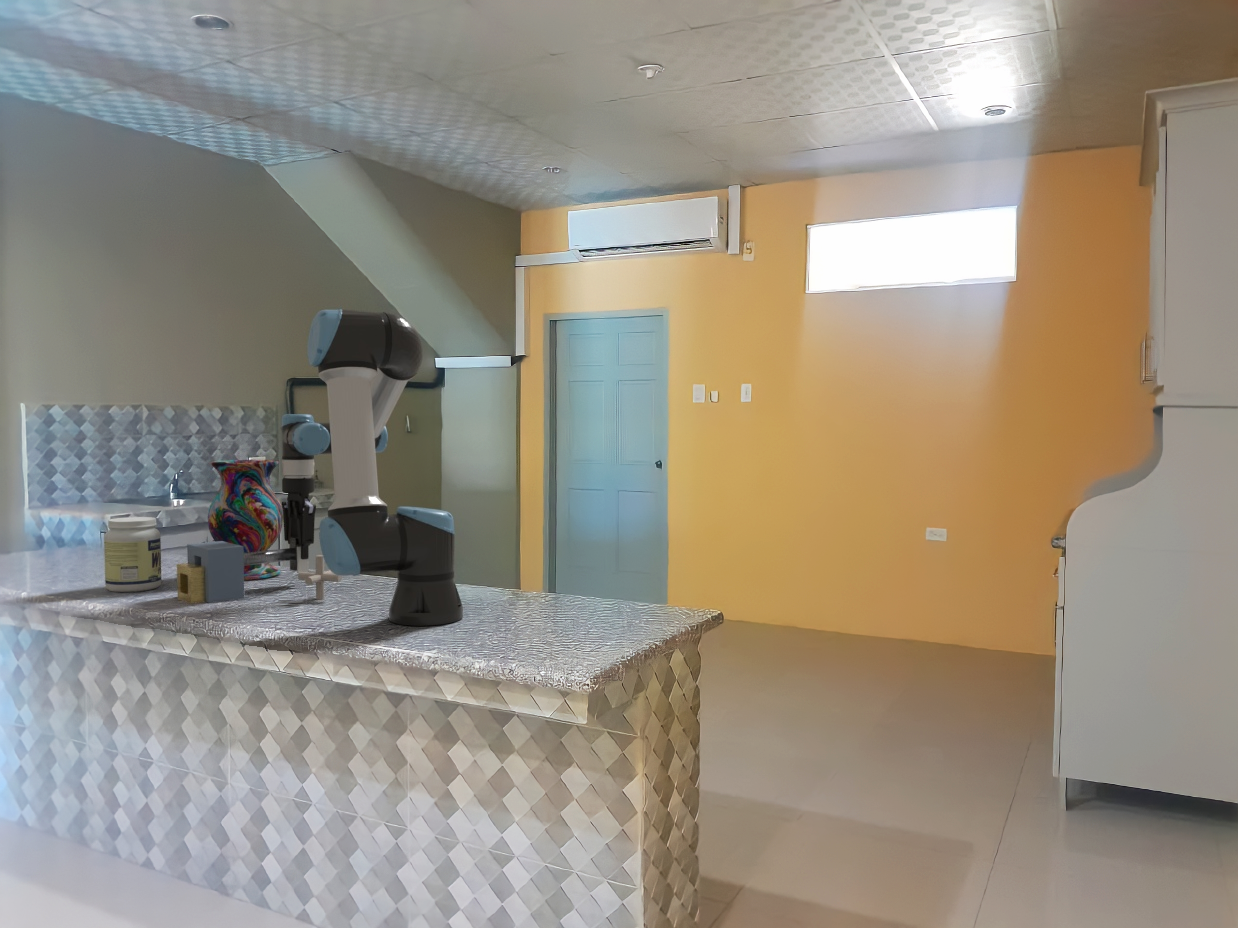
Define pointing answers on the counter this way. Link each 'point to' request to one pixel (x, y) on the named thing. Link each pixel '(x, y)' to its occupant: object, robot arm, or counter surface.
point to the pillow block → (220, 569)
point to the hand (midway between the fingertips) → (299, 571)
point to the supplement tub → (132, 554)
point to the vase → (247, 510)
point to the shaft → (274, 555)
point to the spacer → (191, 583)
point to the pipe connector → (319, 577)
